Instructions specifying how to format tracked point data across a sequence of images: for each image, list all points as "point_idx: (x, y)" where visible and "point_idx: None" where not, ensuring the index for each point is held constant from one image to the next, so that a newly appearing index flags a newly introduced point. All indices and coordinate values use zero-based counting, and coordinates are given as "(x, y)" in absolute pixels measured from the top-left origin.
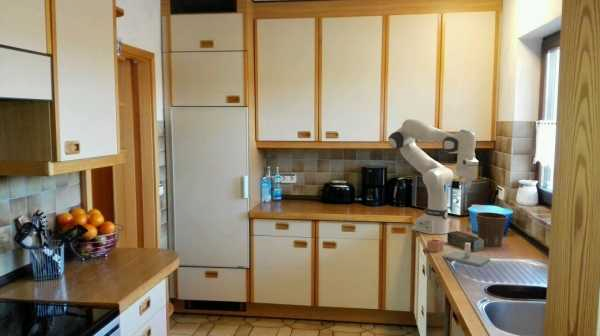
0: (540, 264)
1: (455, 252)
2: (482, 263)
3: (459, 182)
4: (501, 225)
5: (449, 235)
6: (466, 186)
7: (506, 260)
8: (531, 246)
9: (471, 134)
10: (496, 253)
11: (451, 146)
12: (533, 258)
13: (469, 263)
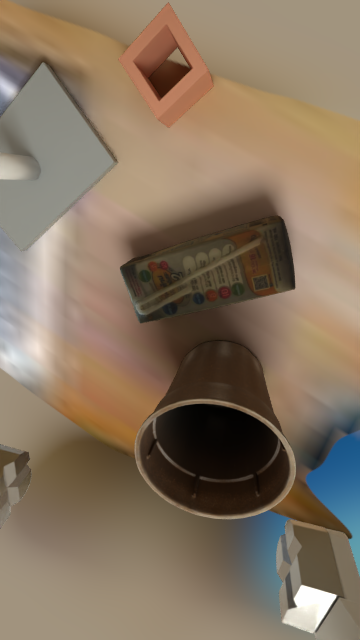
0: (3, 368)
1: (92, 151)
2: None
3: (350, 571)
4: (156, 438)
5: (264, 221)
6: (13, 452)
7: (33, 304)
8: None
9: None
10: (104, 321)
11: None
12: (53, 388)
13: None
